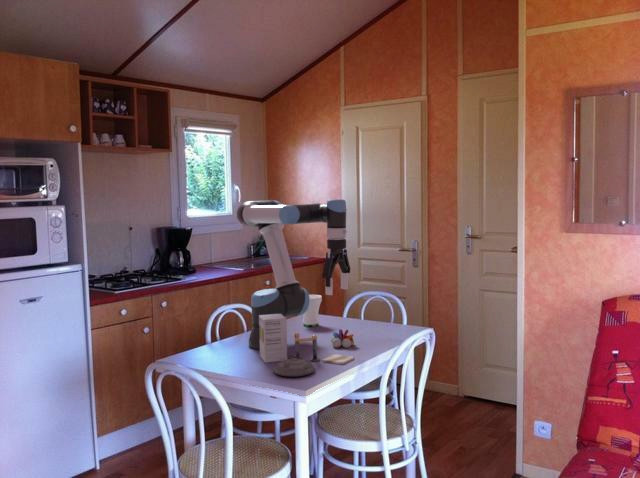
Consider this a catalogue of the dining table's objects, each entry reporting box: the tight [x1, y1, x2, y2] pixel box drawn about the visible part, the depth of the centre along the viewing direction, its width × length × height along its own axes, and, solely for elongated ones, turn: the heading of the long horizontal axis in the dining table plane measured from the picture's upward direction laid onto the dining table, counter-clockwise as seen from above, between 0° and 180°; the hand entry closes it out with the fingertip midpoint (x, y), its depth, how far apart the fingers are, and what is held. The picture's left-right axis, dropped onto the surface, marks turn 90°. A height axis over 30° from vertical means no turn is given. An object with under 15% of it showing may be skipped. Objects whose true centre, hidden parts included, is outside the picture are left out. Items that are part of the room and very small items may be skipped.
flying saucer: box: [273, 357, 316, 378], centre depth 220 cm, size 15×15×6 cm
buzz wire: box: [292, 332, 321, 363], centre depth 235 cm, size 12×10×10 cm
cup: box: [302, 294, 323, 328], centre depth 297 cm, size 11×11×14 cm
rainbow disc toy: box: [330, 328, 355, 349], centre depth 256 cm, size 8×10×7 cm
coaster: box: [321, 353, 355, 366], centre depth 235 cm, size 9×9×1 cm
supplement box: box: [259, 314, 288, 363], centre depth 239 cm, size 10×9×17 cm
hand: (336, 292), depth 242 cm, fingers open, 13 cm apart
